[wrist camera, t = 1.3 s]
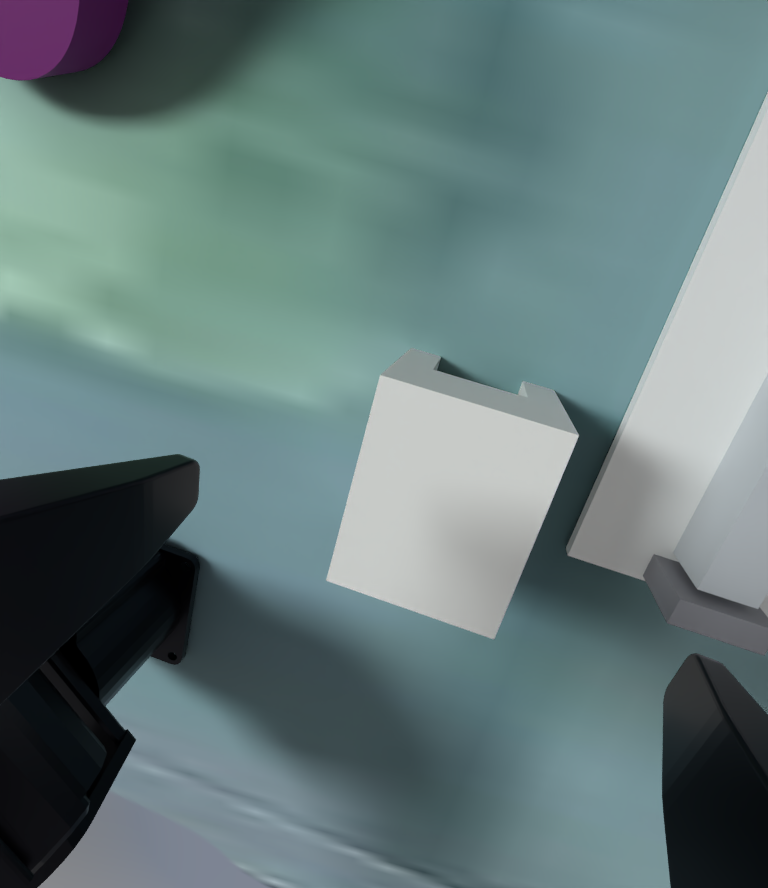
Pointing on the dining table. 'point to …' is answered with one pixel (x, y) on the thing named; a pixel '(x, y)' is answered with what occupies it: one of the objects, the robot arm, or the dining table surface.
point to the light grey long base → (700, 435)
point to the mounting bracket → (56, 35)
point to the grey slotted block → (450, 492)
